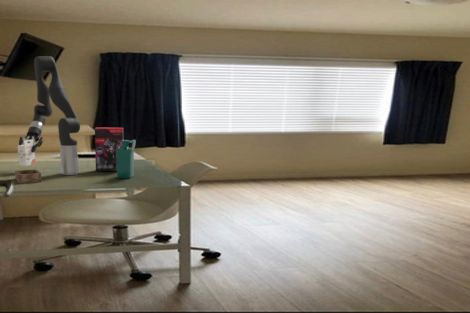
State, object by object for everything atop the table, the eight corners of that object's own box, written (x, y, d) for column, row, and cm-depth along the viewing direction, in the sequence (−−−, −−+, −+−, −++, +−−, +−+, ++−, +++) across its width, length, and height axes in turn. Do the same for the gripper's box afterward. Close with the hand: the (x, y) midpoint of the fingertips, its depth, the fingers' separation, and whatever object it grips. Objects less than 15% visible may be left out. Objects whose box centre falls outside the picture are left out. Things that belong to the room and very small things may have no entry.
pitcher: (115, 177, 238) (115, 140, 235) (121, 175, 247) (120, 138, 244) (131, 178, 237) (131, 140, 234) (136, 176, 246) (137, 139, 243)
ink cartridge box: (28, 163, 250) (26, 139, 248) (35, 163, 249) (34, 139, 247) (18, 165, 241) (16, 140, 240) (26, 165, 240) (24, 140, 239)
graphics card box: (94, 171, 255) (94, 127, 252) (96, 169, 262) (95, 126, 258) (123, 171, 259) (123, 128, 255) (124, 169, 266) (124, 127, 262)
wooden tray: (35, 177, 233) (35, 169, 232) (41, 181, 221) (41, 173, 221) (15, 178, 227) (14, 170, 226) (19, 183, 215) (19, 175, 215)
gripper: (21, 125, 251) (12, 147, 241) (45, 126, 252) (36, 147, 241) (26, 133, 257) (17, 155, 247) (49, 134, 258) (41, 155, 247)
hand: (27, 151), depth 244 cm, fingers closed on ink cartridge box, 5 cm apart
